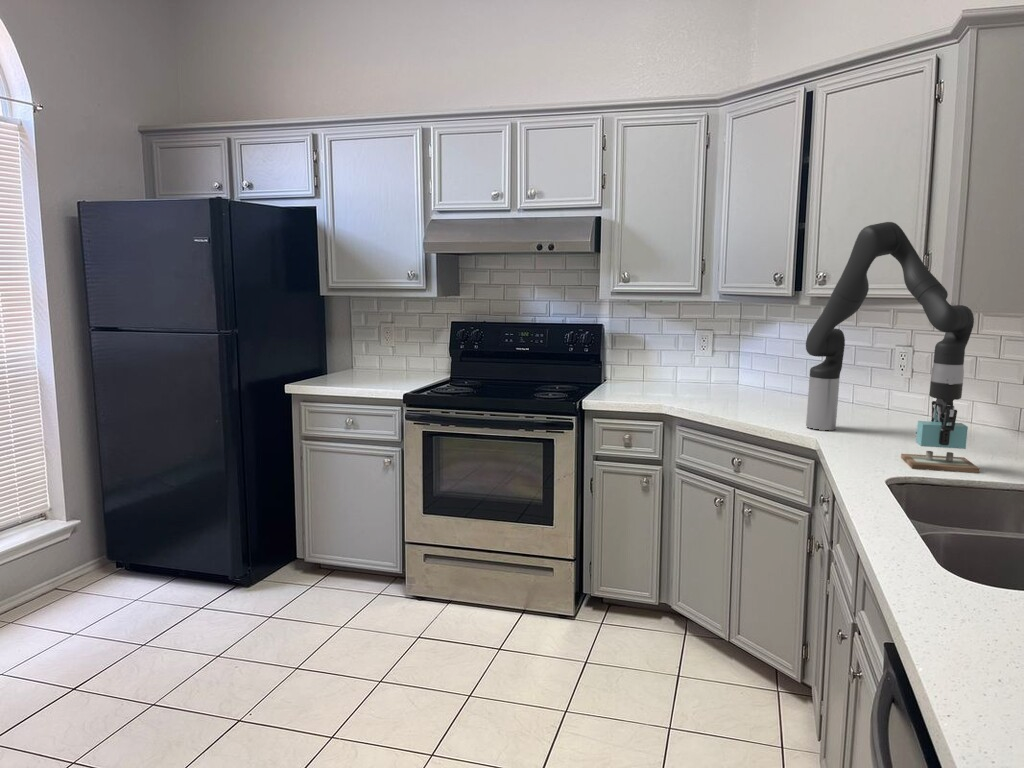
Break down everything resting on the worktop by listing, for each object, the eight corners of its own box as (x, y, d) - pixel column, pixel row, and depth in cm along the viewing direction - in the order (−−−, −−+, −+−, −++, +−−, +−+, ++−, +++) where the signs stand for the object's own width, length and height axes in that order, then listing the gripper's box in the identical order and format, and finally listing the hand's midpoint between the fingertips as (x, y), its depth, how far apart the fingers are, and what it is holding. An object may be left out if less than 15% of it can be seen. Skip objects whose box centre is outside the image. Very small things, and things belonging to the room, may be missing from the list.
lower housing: (915, 442, 209) (917, 420, 208) (959, 444, 206) (961, 423, 205) (920, 446, 204) (922, 424, 203) (965, 448, 201) (967, 426, 201)
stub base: (900, 457, 214) (902, 445, 213) (964, 461, 210) (965, 449, 209) (912, 468, 202) (913, 455, 202) (979, 473, 198) (980, 459, 198)
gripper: (923, 376, 210) (918, 436, 213) (939, 383, 196) (933, 447, 199) (953, 377, 208) (947, 437, 211) (971, 385, 195) (964, 449, 197)
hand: (940, 442), depth 205 cm, fingers closed on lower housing, 5 cm apart
